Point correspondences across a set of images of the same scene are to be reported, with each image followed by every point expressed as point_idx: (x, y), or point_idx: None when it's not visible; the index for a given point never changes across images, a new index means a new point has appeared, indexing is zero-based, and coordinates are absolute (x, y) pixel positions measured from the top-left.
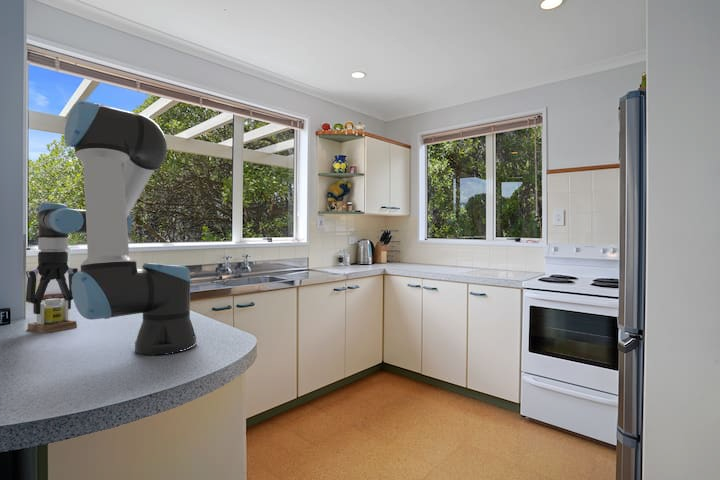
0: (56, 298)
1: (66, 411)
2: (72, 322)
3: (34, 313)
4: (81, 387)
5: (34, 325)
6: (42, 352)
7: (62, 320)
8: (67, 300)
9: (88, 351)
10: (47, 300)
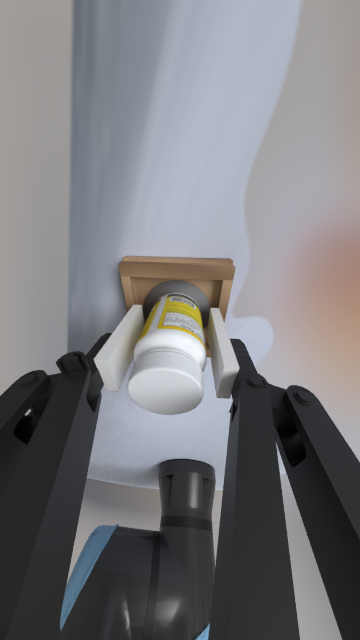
0: (193, 385)
1: (88, 477)
2: (206, 355)
3: (106, 337)
4: (101, 470)
5: (127, 306)
6: (101, 421)
7: (219, 299)
8: (228, 395)
9: (137, 443)
10: (131, 398)
